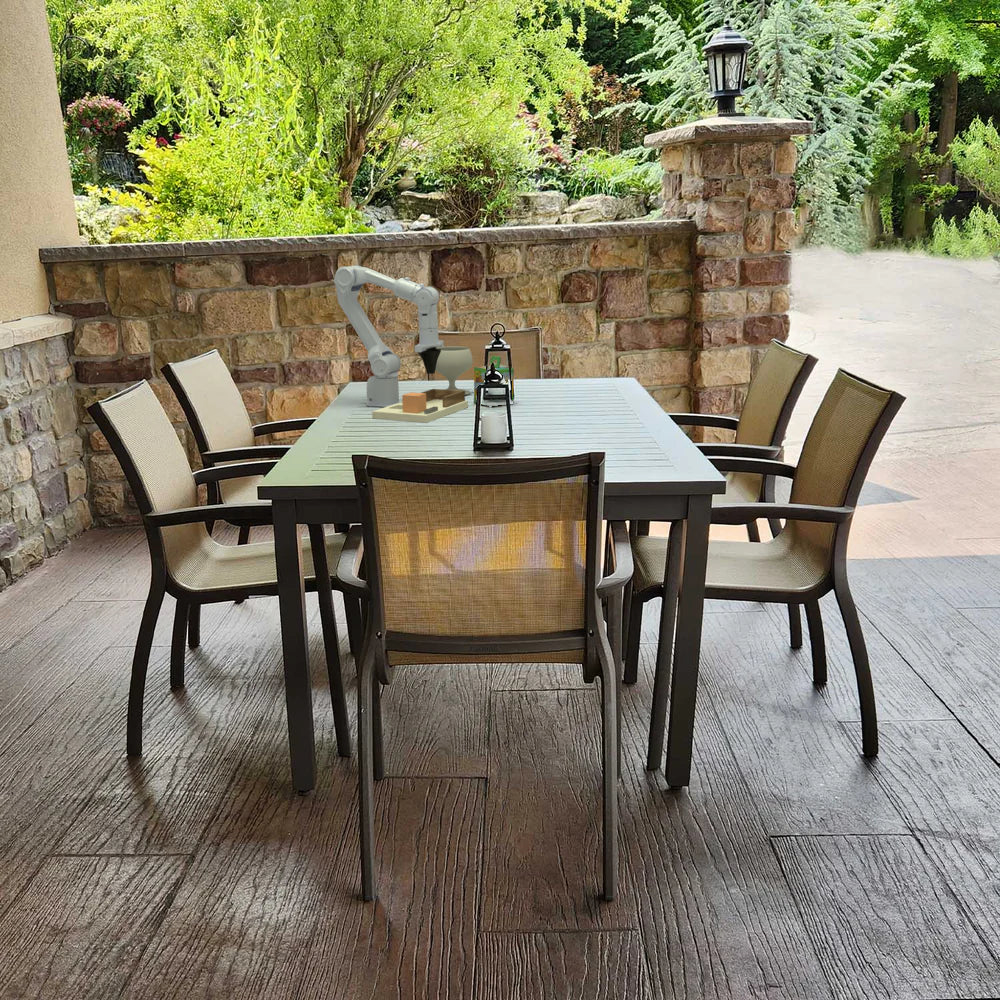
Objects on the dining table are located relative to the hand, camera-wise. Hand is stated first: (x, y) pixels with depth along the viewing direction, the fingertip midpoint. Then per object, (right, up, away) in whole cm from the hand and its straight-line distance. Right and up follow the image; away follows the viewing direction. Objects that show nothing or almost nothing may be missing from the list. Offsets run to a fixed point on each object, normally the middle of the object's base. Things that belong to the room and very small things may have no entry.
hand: (430, 373), depth 305 cm
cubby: (+3, -9, -1) cm, 10 cm away
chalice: (+5, -4, +26) cm, 27 cm away
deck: (-2, -12, -6) cm, 14 cm away
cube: (-4, -13, -15) cm, 20 cm away
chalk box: (+19, -9, +7) cm, 22 cm away
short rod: (+1, -13, -16) cm, 21 cm away
